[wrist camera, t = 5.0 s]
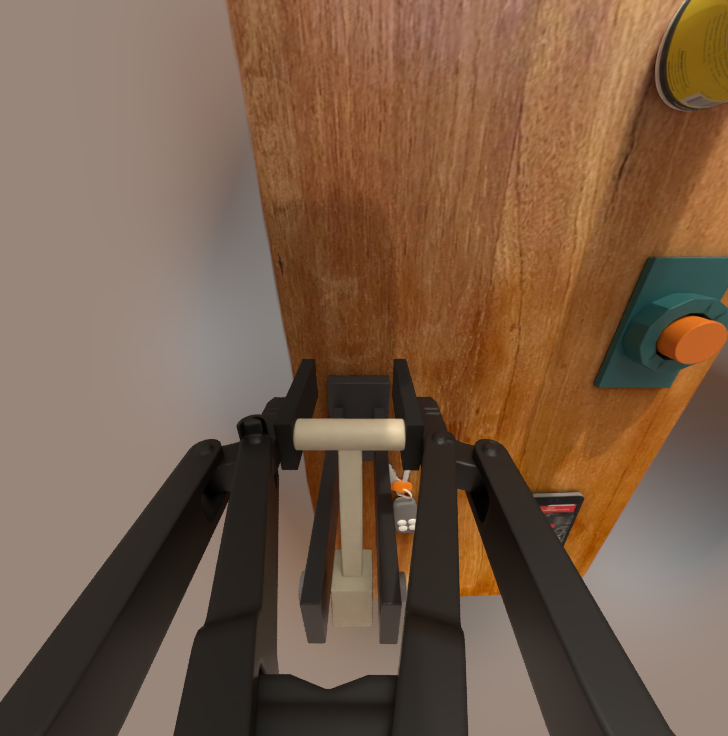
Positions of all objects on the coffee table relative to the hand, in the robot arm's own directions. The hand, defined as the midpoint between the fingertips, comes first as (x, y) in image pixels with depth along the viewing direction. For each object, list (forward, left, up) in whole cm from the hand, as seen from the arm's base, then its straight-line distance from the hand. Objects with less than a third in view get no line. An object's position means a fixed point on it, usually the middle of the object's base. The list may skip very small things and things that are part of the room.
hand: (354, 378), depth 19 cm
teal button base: (0, +27, -9) cm, 28 cm away
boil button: (0, +27, -6) cm, 28 cm away
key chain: (+22, +6, -9) cm, 24 cm away
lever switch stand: (+10, 0, -9) cm, 13 cm away
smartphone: (+29, +25, -9) cm, 39 cm away
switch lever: (+5, 0, +5) cm, 8 cm away
